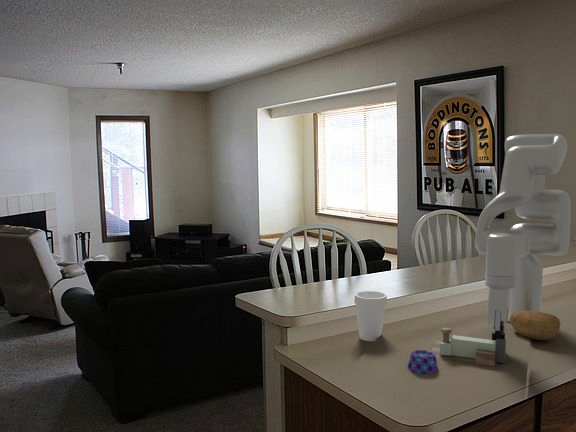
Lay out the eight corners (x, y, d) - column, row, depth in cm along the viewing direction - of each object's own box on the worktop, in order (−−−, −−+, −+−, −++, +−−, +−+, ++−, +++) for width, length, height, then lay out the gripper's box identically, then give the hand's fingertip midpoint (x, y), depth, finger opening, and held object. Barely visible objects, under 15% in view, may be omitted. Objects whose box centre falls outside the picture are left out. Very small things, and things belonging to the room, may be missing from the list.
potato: (517, 329, 173) (518, 304, 172) (565, 340, 163) (566, 313, 162) (502, 336, 167) (503, 310, 166) (551, 348, 156) (552, 320, 156)
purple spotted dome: (421, 387, 132) (422, 365, 132) (388, 370, 143) (388, 350, 142) (458, 376, 138) (458, 356, 138) (423, 361, 149) (423, 342, 148)
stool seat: (438, 341, 163) (438, 315, 162) (500, 350, 156) (501, 322, 155) (427, 360, 148) (428, 332, 147) (496, 370, 141) (497, 340, 140)
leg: (439, 354, 149) (440, 335, 148) (442, 349, 152) (442, 331, 152) (504, 363, 142) (504, 344, 141) (505, 357, 146) (506, 339, 145)
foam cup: (385, 344, 161) (386, 299, 160) (353, 342, 163) (353, 298, 162) (386, 333, 170) (387, 291, 169) (355, 331, 172) (356, 290, 171)
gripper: (487, 273, 157) (485, 337, 159) (482, 285, 144) (480, 354, 146) (516, 275, 154) (514, 340, 156) (514, 288, 140) (511, 359, 143)
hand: (498, 347), depth 151 cm, fingers closed
